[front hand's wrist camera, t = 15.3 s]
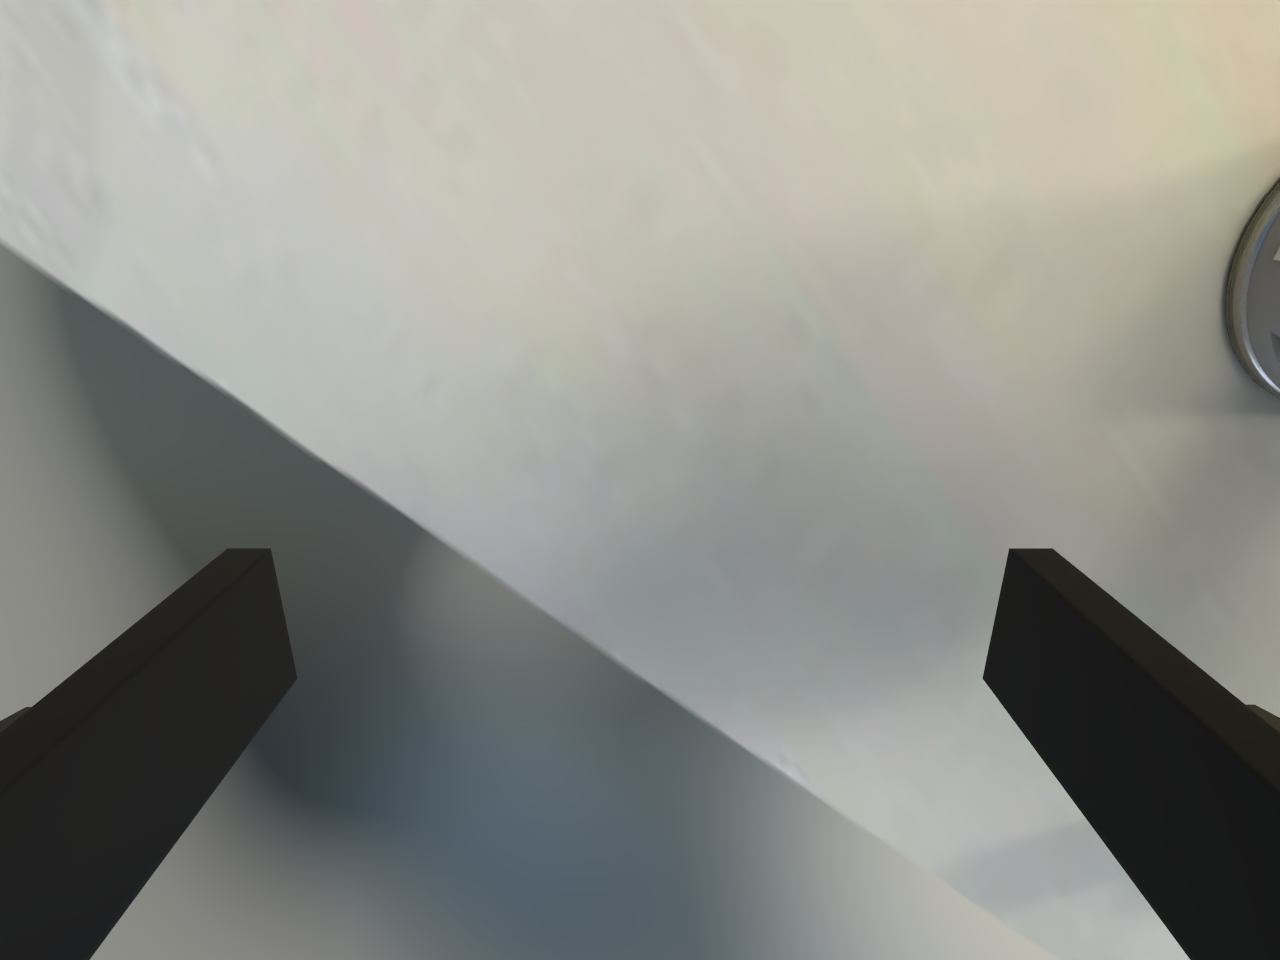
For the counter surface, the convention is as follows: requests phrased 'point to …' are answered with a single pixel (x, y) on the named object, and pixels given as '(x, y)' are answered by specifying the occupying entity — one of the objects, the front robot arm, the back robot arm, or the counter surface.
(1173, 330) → the counter surface
